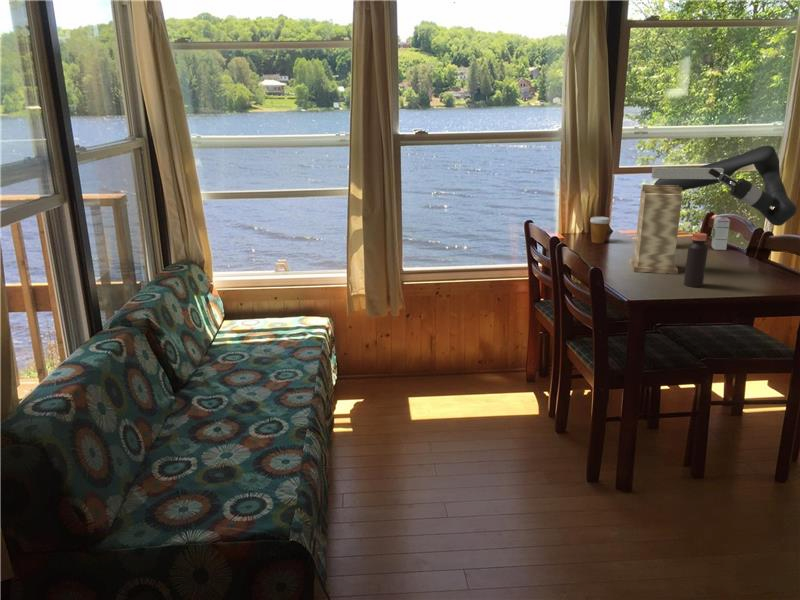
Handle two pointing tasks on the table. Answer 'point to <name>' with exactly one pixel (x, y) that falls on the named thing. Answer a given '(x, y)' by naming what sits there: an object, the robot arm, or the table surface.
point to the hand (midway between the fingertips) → (709, 169)
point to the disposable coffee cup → (599, 229)
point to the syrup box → (720, 233)
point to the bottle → (696, 261)
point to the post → (657, 229)
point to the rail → (683, 173)
